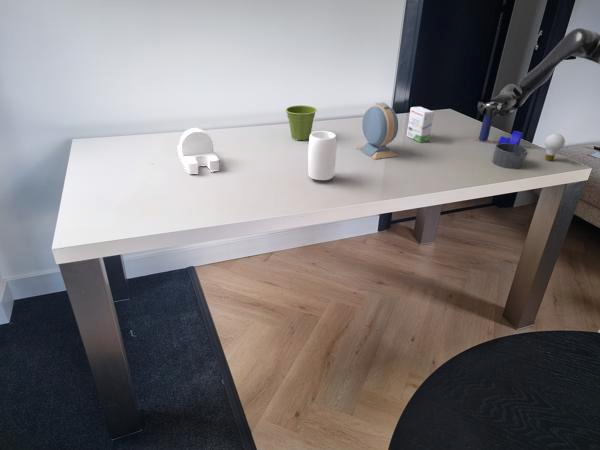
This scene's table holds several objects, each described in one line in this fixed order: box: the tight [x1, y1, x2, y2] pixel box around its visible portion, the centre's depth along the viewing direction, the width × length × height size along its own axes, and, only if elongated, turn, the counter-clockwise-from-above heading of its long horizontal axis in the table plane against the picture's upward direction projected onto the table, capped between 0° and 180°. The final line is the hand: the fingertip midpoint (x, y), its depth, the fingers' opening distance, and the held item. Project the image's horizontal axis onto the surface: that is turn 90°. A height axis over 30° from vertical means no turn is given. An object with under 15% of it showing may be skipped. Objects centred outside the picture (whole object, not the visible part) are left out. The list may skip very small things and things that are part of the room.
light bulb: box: [544, 133, 566, 162], centre depth 149 cm, size 6×6×10 cm
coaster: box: [471, 137, 494, 144], centre depth 168 cm, size 8×8×1 cm
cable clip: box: [498, 130, 524, 145], centre depth 159 cm, size 12×4×6 cm, turn 132°
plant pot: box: [285, 104, 318, 141], centre depth 165 cm, size 12×12×11 cm
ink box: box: [406, 106, 435, 143], centre depth 167 cm, size 8×5×12 cm, turn 27°
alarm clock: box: [356, 102, 399, 160], centre depth 152 cm, size 14×10×18 cm
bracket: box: [176, 127, 220, 174], centre depth 141 cm, size 19×10×11 cm, turn 24°
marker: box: [478, 105, 496, 141], centre depth 164 cm, size 3×3×13 cm
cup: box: [307, 130, 337, 181], centre depth 131 cm, size 8×8×14 cm
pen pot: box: [491, 143, 529, 170], centre depth 146 cm, size 10×10×6 cm
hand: (487, 112), depth 160 cm, fingers closed on marker, 3 cm apart
